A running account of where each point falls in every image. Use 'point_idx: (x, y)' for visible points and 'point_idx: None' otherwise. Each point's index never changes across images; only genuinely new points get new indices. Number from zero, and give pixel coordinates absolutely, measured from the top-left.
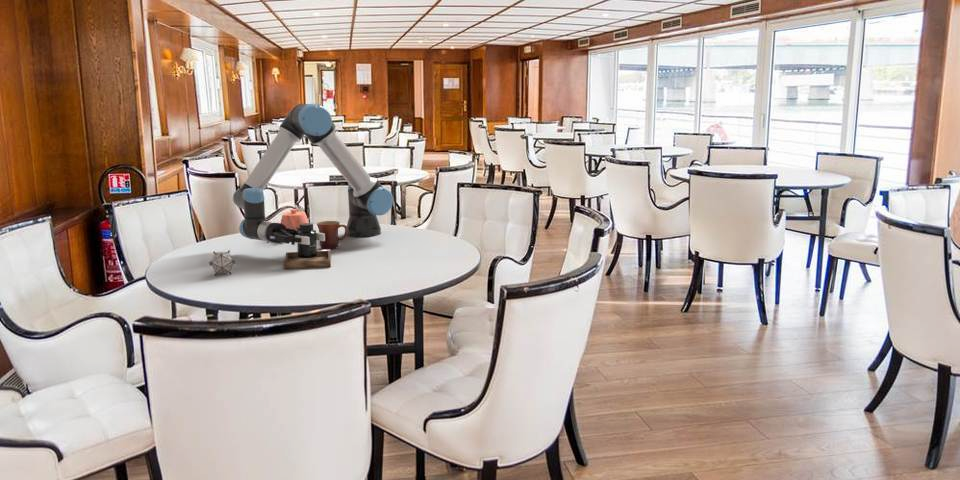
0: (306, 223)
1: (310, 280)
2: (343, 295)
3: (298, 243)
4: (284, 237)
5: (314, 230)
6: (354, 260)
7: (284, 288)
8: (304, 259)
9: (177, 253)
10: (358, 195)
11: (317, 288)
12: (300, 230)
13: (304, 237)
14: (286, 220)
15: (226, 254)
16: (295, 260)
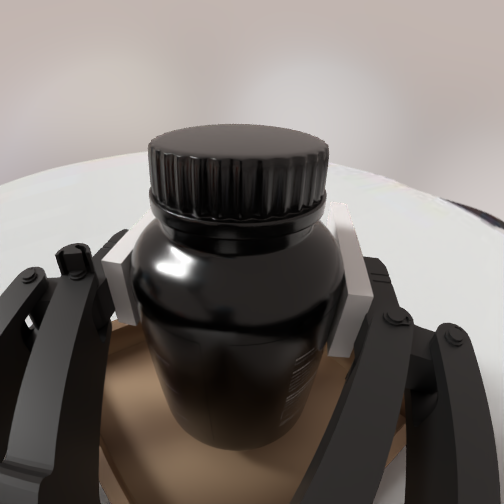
0: (190, 141)
1: (418, 263)
2: (413, 198)
3: (324, 347)
4: (471, 373)
5: (33, 271)
6: None
7: (490, 272)
8: (195, 456)
9: None
10: None
11: (433, 231)
12: (307, 229)
13: (350, 225)
14: None
15: None
16: (246, 496)
